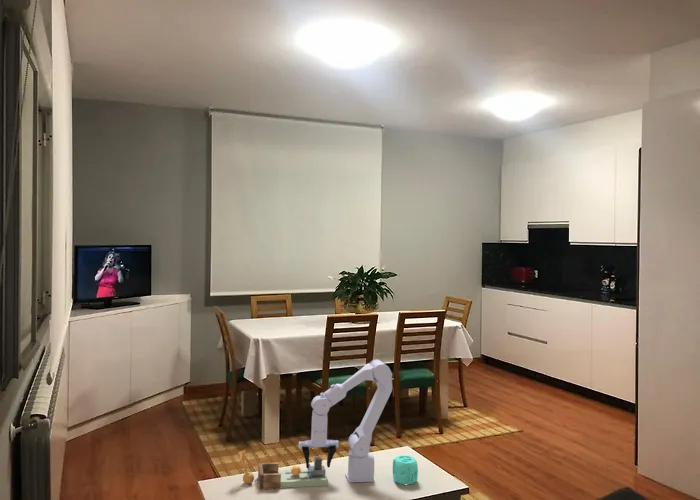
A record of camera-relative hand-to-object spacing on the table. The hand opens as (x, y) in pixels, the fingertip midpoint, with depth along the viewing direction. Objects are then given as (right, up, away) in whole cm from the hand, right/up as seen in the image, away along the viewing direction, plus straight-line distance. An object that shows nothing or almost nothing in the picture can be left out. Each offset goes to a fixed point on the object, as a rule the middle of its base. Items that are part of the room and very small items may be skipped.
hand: (317, 466), depth 214 cm
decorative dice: (+32, -6, +3) cm, 33 cm away
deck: (-6, -5, -1) cm, 7 cm away
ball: (-8, -1, -2) cm, 8 cm away
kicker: (0, -3, 0) cm, 3 cm away
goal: (-17, -4, -4) cm, 18 cm away
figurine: (-26, -4, -5) cm, 26 cm away
